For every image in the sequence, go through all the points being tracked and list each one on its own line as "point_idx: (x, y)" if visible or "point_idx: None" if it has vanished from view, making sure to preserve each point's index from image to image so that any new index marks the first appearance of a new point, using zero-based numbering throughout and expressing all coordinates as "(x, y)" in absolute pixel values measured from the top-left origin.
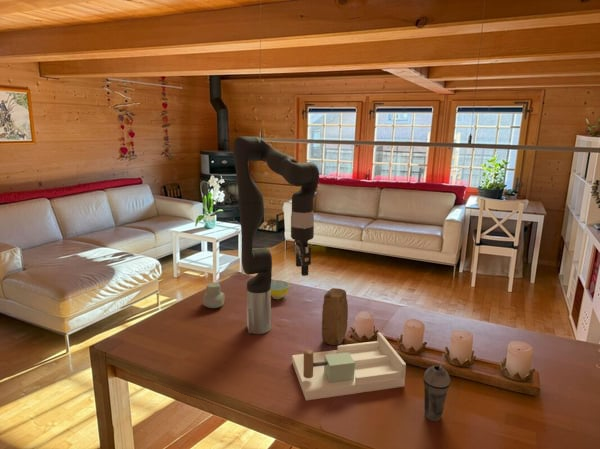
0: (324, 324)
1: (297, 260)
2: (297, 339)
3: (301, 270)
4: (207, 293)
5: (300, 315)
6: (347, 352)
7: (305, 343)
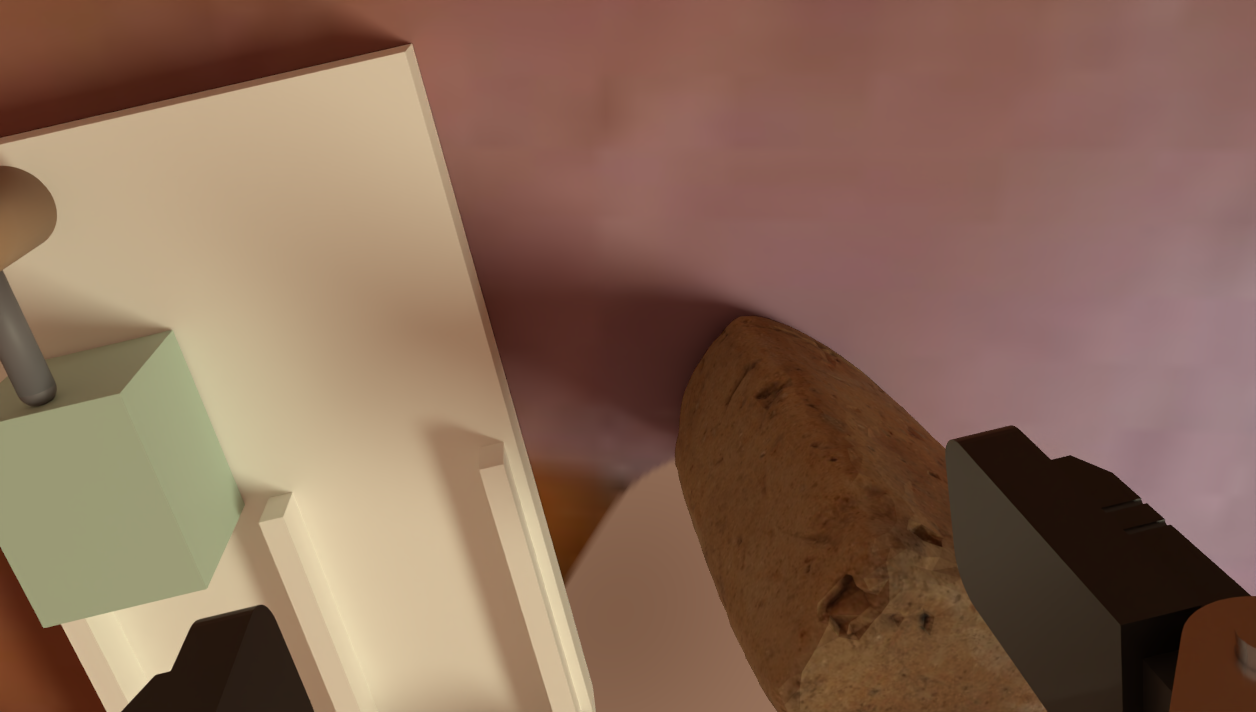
0: (750, 395)
1: (1037, 568)
2: (804, 88)
3: (205, 693)
4: None
5: (1246, 116)
6: (199, 581)
7: (732, 162)
